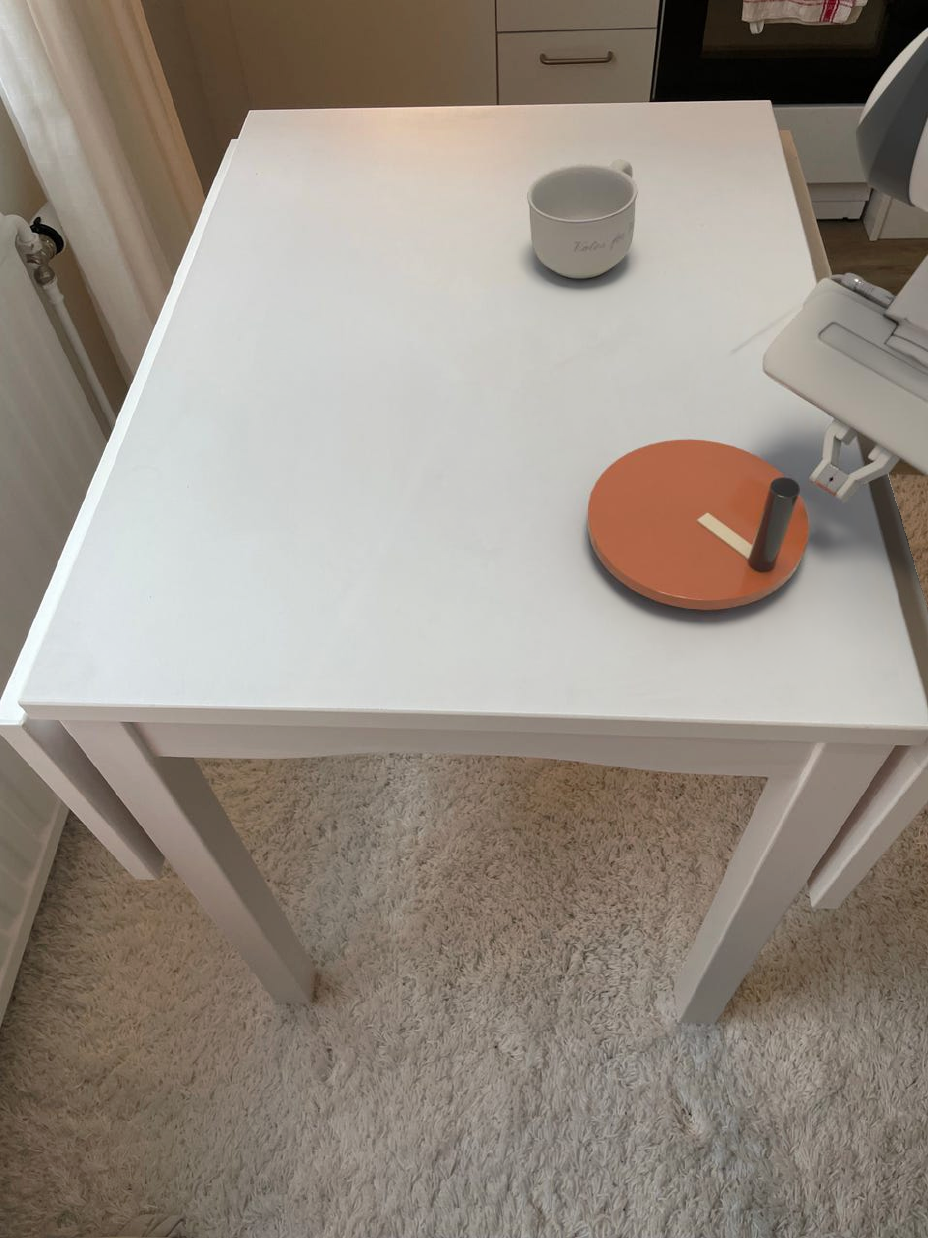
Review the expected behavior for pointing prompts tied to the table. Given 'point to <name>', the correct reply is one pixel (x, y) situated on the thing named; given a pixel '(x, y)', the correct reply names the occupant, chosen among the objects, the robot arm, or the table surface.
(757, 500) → the orange turntable with peg
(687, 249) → the table surface
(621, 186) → the teacup
